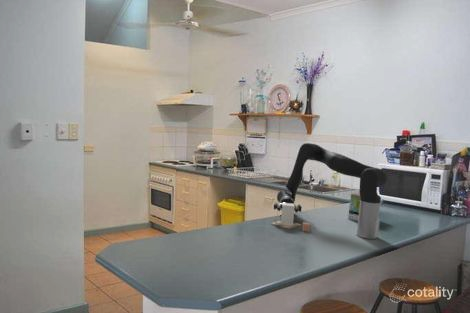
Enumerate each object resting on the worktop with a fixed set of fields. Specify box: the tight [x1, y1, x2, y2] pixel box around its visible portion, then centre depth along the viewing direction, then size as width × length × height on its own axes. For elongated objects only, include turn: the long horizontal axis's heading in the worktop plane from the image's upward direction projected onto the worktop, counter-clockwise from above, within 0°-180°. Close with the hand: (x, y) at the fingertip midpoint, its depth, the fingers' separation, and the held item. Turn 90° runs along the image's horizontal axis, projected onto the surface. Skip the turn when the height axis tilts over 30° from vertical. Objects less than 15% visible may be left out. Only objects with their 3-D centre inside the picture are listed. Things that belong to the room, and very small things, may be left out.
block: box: [301, 221, 311, 233], centre depth 198 cm, size 4×4×4 cm
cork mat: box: [271, 219, 302, 230], centre depth 206 cm, size 11×11×1 cm
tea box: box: [347, 191, 361, 222], centre depth 232 cm, size 15×10×15 cm, turn 143°
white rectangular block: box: [280, 203, 295, 226], centre depth 205 cm, size 6×6×10 cm
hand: (287, 210), depth 203 cm, fingers open, 8 cm apart
